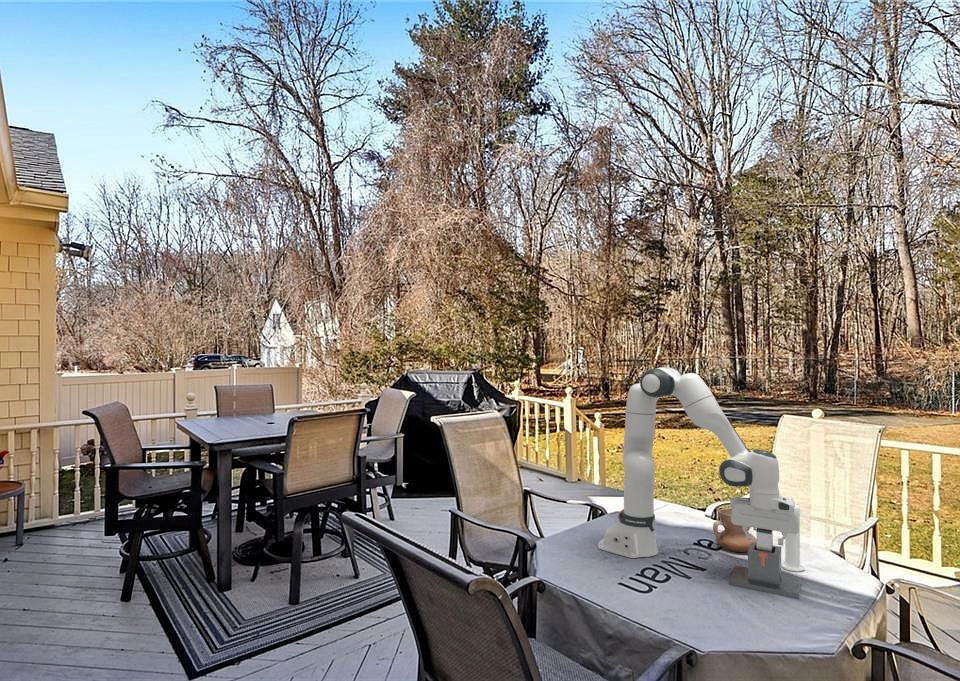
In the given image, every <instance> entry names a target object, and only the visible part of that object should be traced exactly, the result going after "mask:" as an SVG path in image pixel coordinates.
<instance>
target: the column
mask: <svg viewBox="0 0 960 681" xmlns="http://www.w3.org/2000/svg"><path fill="white" fill-rule="evenodd" d="M755 534H756V539H757V550H758V551H764V552H770V553H773V546H774V540H773V539H774V531H773V530H766V529H760V528H756V533H755Z"/></svg>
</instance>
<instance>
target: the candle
mask: <svg viewBox="0 0 960 681" xmlns="http://www.w3.org/2000/svg"><path fill="white" fill-rule="evenodd" d="M790 500H793V501H794V500H795V499H794V496H791V497H790ZM794 503H795V508H794V509H795V510H796V511H797V513H798V518H799V525H800V526H801V523H800V521H801V520H800V518H801V517H800V515H801V514H800V511H801V510H800V506H799V505H798V504H797V503H796V502H795V501H794ZM800 536H801V530H800V531H799V532H798V533H797V534H792V533H787V536H786V538H785V539H784V541H785V542H784V546H785V548H784V551H785V554H784V556H785V557H784V559H785V562H781V569H783V568H784V570H785V569H786V570H785V571H788V570H789V572H792V571H795V572H794V573H801V572H804V571H805V567H804V565H802V564H801V540H800V539H801V537H800Z"/></svg>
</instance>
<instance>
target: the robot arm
mask: <svg viewBox="0 0 960 681" xmlns="http://www.w3.org/2000/svg"><path fill="white" fill-rule="evenodd" d="M627 394H628V395H627V399H626V406H625V423H624V424H625V425H624V438H623V447H622V448H623V449H622V450H623V451H622V463H623V469H624V474H623V475H624V479H623V480H624V481H623V482H624V483H623V485H624V486H623V508H622V509H621V510H620V512H619V513H618V515H617V519H618V521H617V522H615V523H613V524H612V525H610V526H609V527H607V529H606V530H605V532H604V535H603V538H602V539H600V540H599V542H598V543H597V548H598V549H599V550H602V551H605V552H609V553H611V554H615V555H619V556H622V557H626V558H630V559H638V558H648V557H650V558H651V557H654V556H656V555H658V554H659V553H660V552H659V549H658V545H657V540H656V532H655V530H656V516H655V513H654V512H655V511H654V510H655V509H654V507H655V505H654V503H655V502H654V501H655V500H654V497H655V496H654V492H655V478H656V464H655V460H654V459H653V450H654V442H655V441H654V440H655V435H656V433H655V432H656V419H657V418H656V415H657V414H656V412H657V402H658V400H659V399H660V398H667V397H671V396H673V397H675V398H677V399H678V401H679V402H680V404H681V406H682V408H683V410H684V412H685V413H686V415H687V417H688V418H689V419H690V421H691V422H692V423H693V424H694V425H695V426H697V427H699V428H701V429H705V430H707V431H709V432H711V433H713V434H714V435H715V436H716V437H717V438H718V439H719V441H720V442H721V444H722V445H723V447H724V448H725V450H726V452H727V453H728V455H729V456H730V457H729V458H726V459H725V460H724V461H722V462H721V464H720V465H719V467H718V474H719V476H720V478H721V481H722V482H723V483H725V484H727V485H728V486H729V487H748V488H749V497H742V496H741V497H740V496H735V497H732V498H730V501H729V503H730V504H729V506H730V508H732V513H731V522H732V523H733V524H734V525H740V526H742V529H743V531H744V532H745V534H746V540H751V539H752V537H751V536H752V535H753V534H752V533H750V532H749V531H747V528H748V527H750V528H755V529H757V528H760V529H766V530H773V532H780V533H781V536H782V537H781V538H780V537H778V538H777V542H778V543H777V546H781V547H782V546H784V541H785V538H786V536H787V533H792V534H797V533H798V532H799V531H800V532H801V528H800V527H801V524H800V525H799V518H798V513H797V511H796V510H795V509H794V508H795V504H796V502H795V501H793V500H791V498H788V497H786V496H784V495H780V490H779V482H780V467H779V460H778V457H777V455H775V454H774V453H772V452H770V451H769V450H764V449H757V448H756V449H753V450H750V449H749V448H748V447H747V446H746V444H745V443H744V441H743V440H742V438H741V437H740V435H739V433H738V432H737V430H736V429H735V428H734V426H733V424H732V423H731V422H730V420H729V419H728V418H727V416H726V415H725V413H724V412H723V409H722V408H721V406H720V405H719V403H718V401H717V400H716V397H715V396H714V394H713V393H712V390H710V388H709V386H708V385H707V384H706V382H705V381H704V380H703V379H702V378H701V376H700V375H699V374H697V373H694V372H687V373H684V374H683V373H682V371H680V370H679V369H677V368H675V367H670V366H669V367H667V366H659V367H657V368H655V367H654V368H650V369H648V370H646V371H644V372H643V374H642V375H641V377H640V379H639V383H634V384H633V385H631V386H630V387H629V390H628V393H627ZM794 502H795V503H794ZM748 532H749V533H748Z"/></svg>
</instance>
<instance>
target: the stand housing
mask: <svg viewBox="0 0 960 681" xmlns="http://www.w3.org/2000/svg"><path fill="white" fill-rule="evenodd" d="M781 564H782V546H780V545H777V546H776V545H773V553H770V552H764V551H758V550H757V543H755V542H751V544H750V547H749V549H748V552H747V567H746V566H745V567H744V566H739V565H734V567H733V570H732V572H731V573H730V576H729V578H728V585H730V586H733V587H738V586H739V588H743V589H745V588H746V589H748V590H753V589H754V591H759V592H763V593H769V594H773V595H778V596H782V597H783V596H784V597H787V598H793V599H799V598H800V590H801V584H802V577H799V576H793V575H788V574H782V567H781Z"/></svg>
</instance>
